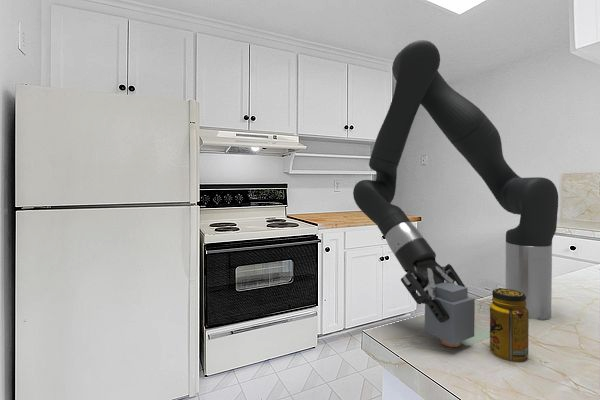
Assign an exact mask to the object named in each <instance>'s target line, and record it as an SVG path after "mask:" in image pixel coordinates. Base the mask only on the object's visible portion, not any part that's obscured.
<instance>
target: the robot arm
mask: <svg viewBox="0 0 600 400" xmlns="http://www.w3.org/2000/svg"><path fill="white" fill-rule="evenodd" d="M440 63H441V55H440V51H439V49H438V47H437V46H436V45H435V44H434V43H433V42H432V41H429V40H424V39H419V40H415V41H412V42H411V43H409V44H407V45H405V46H404V48H402V49H401V50H400V51H399V52H398V53H397V55H396V56H395V58H394V59H393V62H392V66H391V67H392V69H391V70H392V74H393V77H394V79H395V81H396V83H395V88H394V92H393V96H392V99H391V103H390V106H389V108H388V111H387V113H386V115H385V118H384V119H383V122H382V124H381V126H380V129H379V130H378V133H377V136H376V139H375V142H374V145H373V147H372V151H371V155H370V158H369V160H368V161H369V162H368V165H369V168H370V169H371V170H372V171H374V172H375V180H372V179H361V180H359V181H358V182H356V183H355V185H354V187H353V192H352V194H353V195H352V196H353V200H354V203H355V204H356V206H357V208H358V209H359V210H360V211H361V212H362V213H363V214H364V215H365V216H367V218H368V219H369V220H371V221H372V222H373V223H374V224H375V225H376V226H377V228H378V230H379V231H380V233H381V234H382V235H383V237H384V239H385V240H386V243H387V245H388V247H389V249H390V250H391V252H392V253H393V255H394V257H395V258H396V260H397V261H398V263H399V265H400V266H401V268H402V269H403V271H404V272H405V274H404V275H403V276H402V277H401V278H400V282H401V283H402V284H403V286H404V287H405V289H406V290H407V292H408V293H409V294H410V295H411V297H412V299H413V300H414V301H415V302H416V304H417V305H422V304H424V306H425V305H427V306H429V308H430V310H431V311H432V313H433V314H434V316H435V317H436V319H437V320H439V322H440V323H443V322H445V321H446V320H448V319H449V315H448V314H447V312H446V311H445V309H444V308H443V306H442V305H441V303H440V302H439V300H436V299H437V298H436V294H435V288H436V287H435V285H436V284H440V283H444V282H449V283H452V284H455V283H456V285H459V286H463V287H466V286H465V284H464V283H463V281H462V279H461V278H460V276H459V275H458V273H457V272H456V270H455V269H454V268H453V266H452V264H451V263H447V264H446V265H445V266H442V265H440V264H439V263H438V262H437V261H436V257H437V254H436V252H435V250H433V248H432V247H431V245H430V244H429V243H428V241H427V239H426V238H425V237H424V236H423V234H422V233H421V231H419V229H418V228H417V226H415V225H414V224H413V222H412V221H411V220H410V219H409V218H408V216H407V214H406V213H405V212H404V211H403V209H402V208H401V207H399V206H398V205H396V204H393V203H392V202H393V200H394V198H395V195H396V189H397V179H398V178H397V176H398V175H397V173H398V167H399V165H400V164H399V163H400V161H401V158H402V156H403V153H404V150H405V147H406V143H407V139H408V138H409V134H410V132H411V128H412V127H413V123H414V121H415V117H416V116H417V112H418V110H419V108H420V106H422V107H423V108H424V110H425V111H426V112H427V113H428V115H429V116H430V118H432V120H433V122H434V123H435V124H436V125H437V127H438V129H440V131H441V132H442V133H443V135H444V136H445V138H446V139H448V141H449V143H450V144H451V145H452V146H453V147H454V148H455V149H456V151H458V152H459V154H461V156H463V157H464V159H465V160H466V161H467V163H469V165H470V166H471V167H472V168H473V169H474V171H475V172H476V173H477V174H478V176H480V178H481V179H482V181H484V183H485V184H486V186H487V188H488V189H489V191H490V192H491V194H492V195H493V197H494V199H496V202H498V204H499V205H500V206H501V208H503V209H504V211H506V212H507V213H510V214H513V215H518V216H519V215H520V219H519V224H518V225H517V226H516V227H514V228H511V229H508V230H507V231H506V233H505V288H506V289H513V290H517V291H520V292H522V293H524V294H525V296H526V308H527V310H528V312H529V320H530V319H532V320H538V321H539V320H549V319H551V318H552V297H553V296H552V295H553V294H552V291H553V289H552V286H553V282H552V280H553V274H552V273H553V271H552V270H553V264H552V263H553V238H554V236H555V234H556V232H557V226H558V225H557V224H558V212H559V191H558V189H557V186H556V184H555V183H554V182H553V181H552V180H551V179H549V178H546V177H542V176H541V177H539V176H537V177H536V176H535V177H532V176H531V177H521V176H520V175H518V174H517V173H516V172H515V171H514V170H513V168H511V166H510V165H509V164H508V163H507V161H506V160H505V158H504V153H503V145H502V139H501V136H500V132H499V130H498V129H497V127H496V125H494V124H493V122H492V121H491V120H490V119H489V117H488V116H487V115H486V114H485V113H484V112H483V111H482V110H481V109H480V108H479V107H478V106H477V105H476V104H474V102H472V101H471V100H469V99H467V98H466V97H465V96H464V95H462V94H460V93H459V92H458V91H456V90H455V89H454V88H452V87H451V86H450V85H449V84H448V83H447V81H446V80H445V79H444V78H443V76H442V75H441V74H440V72H439V69H440Z"/></svg>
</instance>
